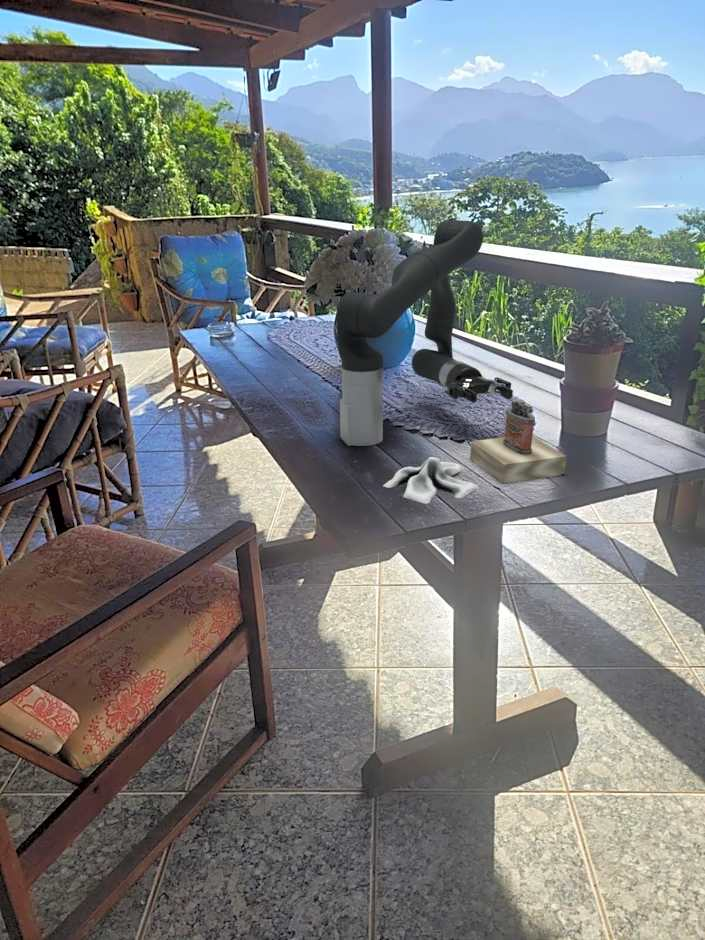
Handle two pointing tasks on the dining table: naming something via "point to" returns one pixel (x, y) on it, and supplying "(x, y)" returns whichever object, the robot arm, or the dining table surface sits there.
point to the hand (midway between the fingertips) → (493, 396)
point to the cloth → (431, 480)
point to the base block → (517, 460)
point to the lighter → (519, 428)
